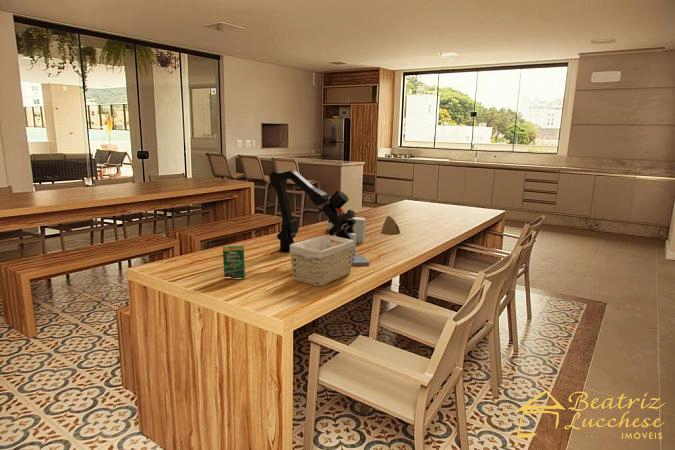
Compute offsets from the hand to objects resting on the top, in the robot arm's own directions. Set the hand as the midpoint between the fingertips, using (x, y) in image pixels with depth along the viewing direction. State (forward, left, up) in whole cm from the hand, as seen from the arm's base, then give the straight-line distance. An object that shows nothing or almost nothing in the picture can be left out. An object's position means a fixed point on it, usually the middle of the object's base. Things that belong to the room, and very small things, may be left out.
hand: (353, 241), depth 197 cm
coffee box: (-52, -19, -10) cm, 56 cm away
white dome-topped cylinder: (-1, +1, -7) cm, 7 cm away
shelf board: (-1, 0, -9) cm, 10 cm away
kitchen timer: (+5, +66, -10) cm, 67 cm away
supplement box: (+11, +40, -10) cm, 42 cm away
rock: (+36, +59, -10) cm, 70 cm away
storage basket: (-17, -20, -10) cm, 28 cm away
